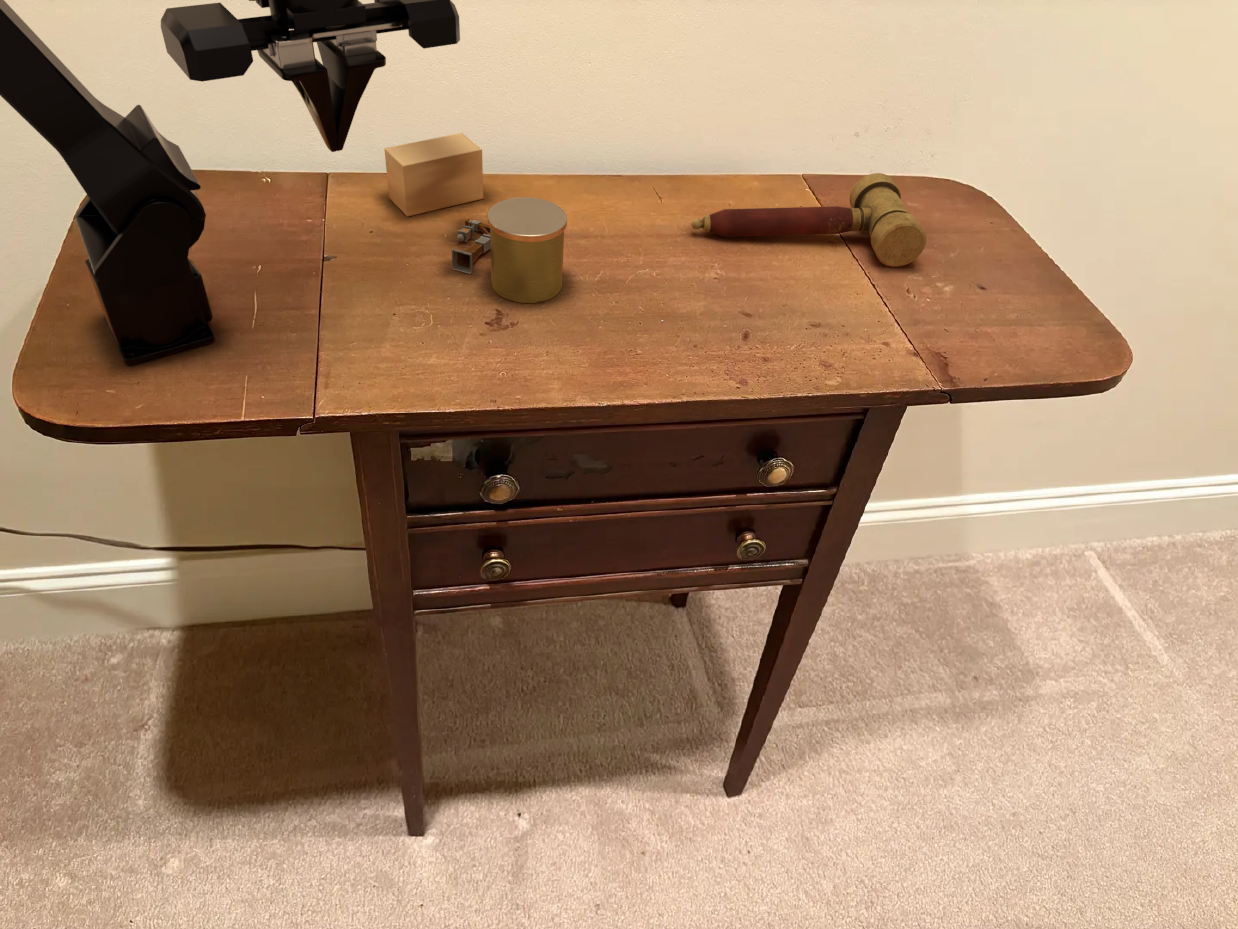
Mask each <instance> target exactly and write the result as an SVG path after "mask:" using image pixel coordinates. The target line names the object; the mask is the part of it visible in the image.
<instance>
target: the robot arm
mask: <svg viewBox="0 0 1238 929" xmlns="http://www.w3.org/2000/svg"><path fill="white" fill-rule="evenodd" d="M248 1H249V2H255V3H256V4H257V5H258V6H259V7H260V8H262V9H266V8H269V12H270V13H269V14H270V15H262V16H252V17H244V18H237V17H235V15H234V14H233V13H232V12H230V10H229V9H228V8H226V6H224V4H222V2H212V3H203V4H193V5H185V6H175V7H167V8H166V9H165V11H164V13H163V15H162V17H161V19H160V30H161V33H162V38H163V42H164V45H165V49H166V53H167V54H168V55H169V57H171V59H172V60H173V62H175V63H176V65H177V66H178V68H180V70H181V71H182V72H183V73H184V74H185V75H186V77H187V78H188V79H189V81H195V82H208V81H209V82H210V81H215V80H224V79H229V78H235V77H242V76H244V75H245V74H246V73H247V72H248V70H249V68H250V67H251V66H252V64H253V62H254V57H253V53H252V52H253V51H257V54H258V56H259V58H260V59H261V60H263V62H264V63H266V64H267V65H268V67H269V68H270V69H272V71H273V72H275V73H276V74H277V76H279V78H280V79H282V80H283V81H287V82H292V84H293V86H294V87H295V89H296V90H297V92H298V93H299V95H300V97H301V99H302V101H303V103H304V105H305V108H307V111H308V113H309V114H310V117H311V118H312V121H313V122H314V124H315V126H316V129H317V131H318V132H319V134H320V136H321V138H322V140H323V143H324V144H325V146H326V148H327V149H328V150H329V151H330V152H331V153H335V152H339V151H343V149H344V147H345V144H346V141H347V138H348V135H349V132H350V129H351V126H352V123H353V120H354V117H355V114H356V111H357V108H358V106H359V104H360V101H361V99H362V97H363V95H364V92H365V91H366V89H367V87H368V84H369V82H370V81H371V77H372V76H373V75H374V72H375V71H376V69H379V68H384V67H386V65H387V57H386V56H385V55H384V54H383V53H382V52H380V51H379V50H378V47H377V41H378V37H377V35H378V34H384V33H385V34H386V33H392V32H399V31H407V30H408V36H409V38H411V39H412V40H413V41H414V42H415V43H416V44H417V45H418V46H419V47H421V48H422V49H431V48H437V47H445V46H451V45H457V44H458V43H459V42H460V41H461V32H460V31H461V30H460V29H461V28H460V26H461V25H460V14H459V12H458V10H457V6H456V5H455V3H454V2H453V1H452V0H374V1H373V2H369V3H362V2H361V1H360V0H248ZM314 43H316V45H317V49H318V52H319V56H320V59H321V61H319V60H318V59H317V58H316V55H315V47H314ZM0 97H1V98H2V99H3V100H4V101H5V102H6V103H7V104H8V105H9V106H11V108H12V109H13V110H15V111H16V113H18V115H19V116H20V117H21V118H22V119H24V120H25V121H26V123H28V124H29V125H30V126H31V127H32V128H33V129H34V130H35V131H36V132H37V133H38V134H39V135H40V136H41V137H42V138H43V139H44V140H46V142H48V143H49V144H50V145H51V146H52V148H54V149H55V151H57V153H58V155H59V156H61V158H62V159H63V160H64V162H65V164H66V165H67V167H68V168H69V169H70V171H71V173H72V174H73V176H74V178H75V179H76V181H77V182H78V183H79V185H80V186H81V188H82V189H83V191H84V192H85V194H86V196H87V199H86V200H85V201H84V203H83V204H82V205H81V207H80V208H79V210H78V211H77V212H76V214H75V215H74V221H75V222H76V226H77V228H78V231H79V235H80V238H81V240H82V244H83V246H84V249H85V251H86V255H87V257H88V259H85V261H84V262H85V266H86V268H87V271H88V274H89V276H90V280H91V282H92V285H93V288H94V290H95V293H96V296H97V298H98V301H99V304H100V307H101V310H102V312H103V314H104V316H103V317H102V321H103V323H104V326H105V327H106V330H107V332H108V333H109V336H110V338H111V339H112V342H113V344H114V346H115V348H116V350H117V352H118V355H119V357H120V359H121V361H122V363H123V364H124V365H134V364H137V363H141V362H145V361H149V360H152V359H155V358H160V357H163V356H166V355H171V354H174V353H178V352H182V351H185V350H189V349H193V348H197V347H199V346H203V345H207V344H210V343H213V342H215V340H216V336H215V333H214V331H213V329H212V328H211V326H210V325H209V324H210V322H212V321H213V319H214V317H213V312H212V309H211V305H210V302H209V298H208V295H207V290H206V287H205V283H204V278H203V275H202V273H201V272H200V271H199V269H198V268H197V266H196V264H195V262H194V261H193V260H192V259H190V258H189V253H190V249H191V248H192V247H193V246H194V245H195V244H196V243H197V242H198V241H199V239H200V237H201V236H202V235H203V234H202V233H203V232H204V230H205V225H206V224H205V223H206V216H207V214H206V211H205V208H204V206H203V205H204V204H203V203H202V202H201V200H200V198H199V196H198V194H197V192H196V191H198V190H200V189H201V188H202V187H201V184H200V183H199V181H198V179H197V177H196V175H195V173H194V172H193V169H192V167H191V166H190V164H189V162H188V161H187V159H186V157H185V155H184V153H183V151H182V150H181V148H180V146H179V145H178V144H176V143H174V142H172V141H171V140H168V139H167V138H166V137H165V136H164V135H162V134H161V133H160V131H158V129H157V128H156V127H155V125H154V123H153V122H152V120H151V119H150V117H149V116H148V113H146V111H145V109H144V108H143V107H142V105H141V104H136V105H135V107H133V109H132V110H130V112H129V113H128V114H126V116H123V115H122V114H120V113H119V112H118V111H115V110H113V109H112V108H111V107H109V106H107V105H106V104H104V103H103V102H101V101H100V100H99V99H97V98H96V96H95V95H93V94H92V93H91V92H90V90H89V89H88V88H86V86H85V85H84V84H83V83H82V82H81V81H80V80H79V79H78V77H77V76H76V75H75V74H74V73H73V72H72V71H71V70H70V69H69V68H68V67H67V66H66V65H65V64H64V62H62V61H61V59H60V58H59V57H58V56H57V55H56V54H55V53H54V52H53V51H52V50H51V49H50V48H49V46H47V44H45V42H44V41H43V40H42V39H41V38H40V37H39V36H38V35H37V34H36V33H35V31H33V29H31V27H30V26H29V25H28V24H27V23H26V22H25V21H24V20H23V19H22V18H21V17H20V16H19V15H18V13H17V12H16V11H15V10H14V9H13V8H12V7H11V6H10V5H9V4H8V3H7V2H6V1H5V0H0Z"/></svg>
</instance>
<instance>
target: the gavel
mask: <svg viewBox="0 0 1238 929" xmlns="http://www.w3.org/2000/svg"><path fill="white" fill-rule="evenodd" d="M901 195H902V194H901V192H900V190H899V188H898V186H897V184H896V183H895V181H894V180H893V178H892V177H890V176H889V175H887V174H885V173H883V172H881V173H880V172H874V173H870V174H866V175H865V176H863V177H861V178H860V179H859V180H858V181H857V182H856V183H854V185H853V186H852V188H851V190H850V193H849V198H848V200H849V204H850V207H846V206H838V205H837V206H836V205H835V206H801V207H800V206H799V207H797V206H796V207H761V208H760V207H758V208H756V207H755V208H724V209H721V210H719V211H716V212H713V213H711V214H705V215H703V218H702V219H700V218H698V217H697V218H693V219H692V220H691V224H690V225H691V228H692V229H693V230H699V229H703V232H705V233H710V234H714V235H717V236H720V237H723V238H739V237H775V236H810V235H811V236H812V235H813V236H814V235H838V234H839V235H840V234H843V233H848V232H867V233H868V234H869V237H870V244H871V248H872V249H873V251H874V253H875V255H876V257H877V260H879V262H880V263H882V264H883V265H885V266H887V267H893V268H899V267H903V266H906V265H909V264H910V263H912V262H913V261H915V260H917V258H918V257H919V256H920V255H921V254H922V253H923V251H924V249H925V248H926V244H927V233H926V231H925V229H924V228H923V227H922V225H921V223H920V222H919V220H918V218H916V217H915V215H913V214H911V213H910V212H909V210H908V209H907V207H906V206H905V204H904V202H903V200H902V196H901Z"/></svg>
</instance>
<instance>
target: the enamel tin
mask: <svg viewBox="0 0 1238 929" xmlns="http://www.w3.org/2000/svg"><path fill="white" fill-rule="evenodd" d="M487 225H489V227H490V236H491V249H490V274H491V275H490V276H491V280H490V281H491V287H492V289H493V291H494V292H495V294H497V295H498V296H500V297H501V298H503V299H504V300H508V301H510V302H514V303H520V304H537V303H543V302H546V301H548V300H551V299H553V298H555V297H556V296H558V295H559V293H560V292H561V290H562V287H563V267H564V246H565V245H564V243H565V230H566V229H567V227H568V226H567V225H568V215H567V213H566V211H565V210H564V209H563V208H562V207H561V206H560V205H558V204H556V203H555V202H552V201H550V200H547V199H544V198H539V197H531V196H521V197H520V196H519V197H518V196H517V197H511V198H507V199H503V200H501V201H498V202H496V203H494V204H493V205H492V206H490V208H489V210H488V212H487Z"/></svg>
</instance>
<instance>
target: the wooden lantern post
mask: <svg viewBox="0 0 1238 929" xmlns="http://www.w3.org/2000/svg"><path fill="white" fill-rule="evenodd" d="M475 232H482V233H483V234H482V235H480V237H479V238H478V239H476V240H473V239H474V234H475ZM456 233H457V236H456V237H457V238H456V240H457V241H458V242H464V243H468V241H469V239H472V240H473V243H472V245H470V246H469V247H467V248H465V249H463V250H460V249H456V248H454V249H451V264H452V265H451V266H452V267H451V268H452V270H454V271H458V272H461V273H465V274H469V275H471V274H472V273H473V270H474V269H473V263H474V262H475V261H476V260H477V259H478V257H479V256H481V255H482V254H485V253H486V252H487V251H489V250H491V236H490V227H489V225H488V223H482V221H481V220H477V219H474V220H473V219H470V218H466V219H465V220H464V224H463V225H462V228H461V229H460V230H459V229H458V230H457V232H456Z"/></svg>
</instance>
